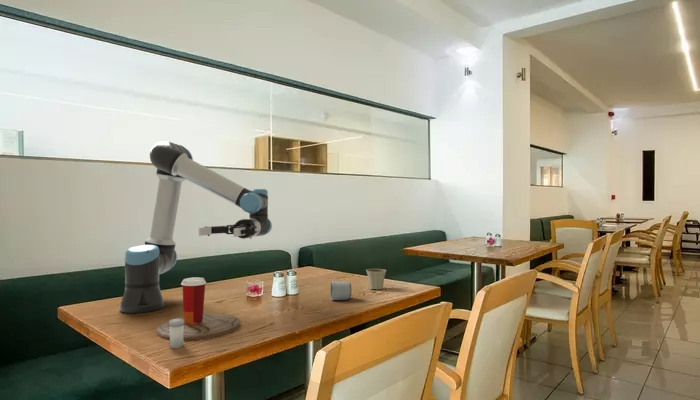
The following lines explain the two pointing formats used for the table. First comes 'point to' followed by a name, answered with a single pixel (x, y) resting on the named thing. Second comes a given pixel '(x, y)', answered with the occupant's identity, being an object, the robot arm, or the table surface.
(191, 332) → the trivet
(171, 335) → the salt shaker
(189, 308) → the paper cup
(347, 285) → the ceramic mug
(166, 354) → the table surface
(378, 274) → the flower pot
